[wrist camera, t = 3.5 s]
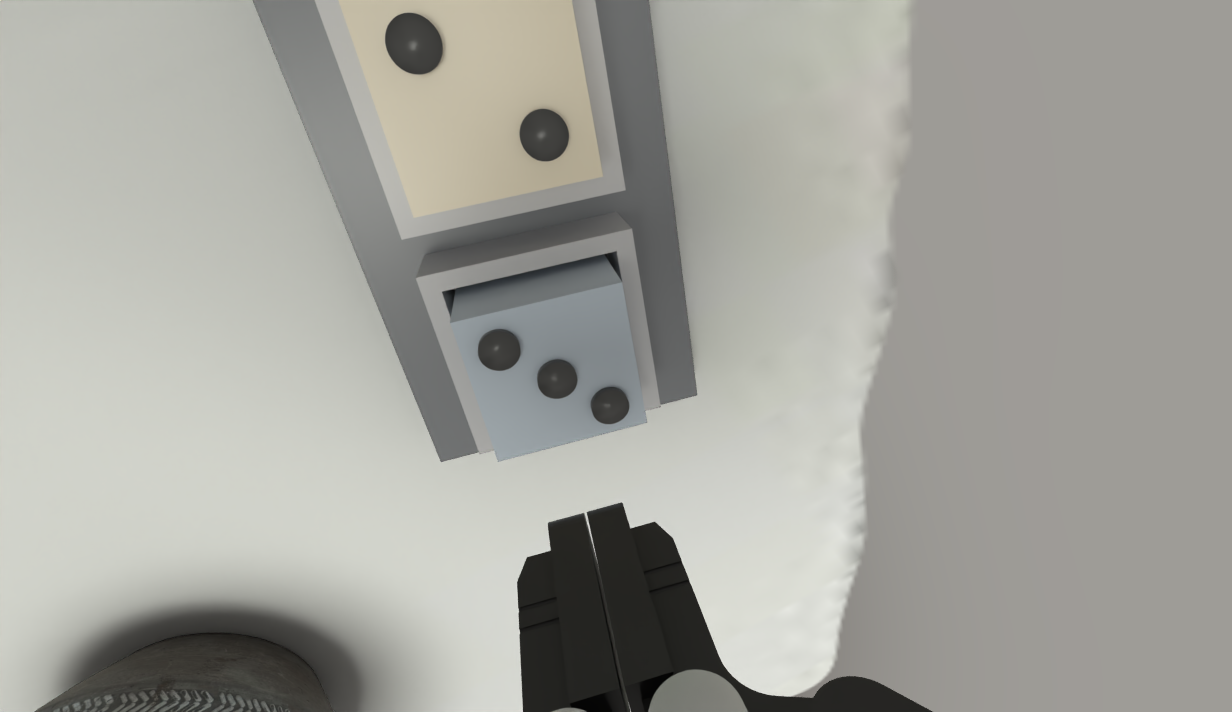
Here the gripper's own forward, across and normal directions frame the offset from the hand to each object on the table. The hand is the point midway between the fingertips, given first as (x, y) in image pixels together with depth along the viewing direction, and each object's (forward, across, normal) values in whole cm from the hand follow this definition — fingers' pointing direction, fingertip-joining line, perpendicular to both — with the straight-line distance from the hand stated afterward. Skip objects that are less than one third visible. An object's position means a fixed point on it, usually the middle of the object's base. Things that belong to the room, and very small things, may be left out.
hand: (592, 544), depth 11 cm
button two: (+10, 0, -8) cm, 13 cm away
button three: (+10, 0, 0) cm, 10 cm away
